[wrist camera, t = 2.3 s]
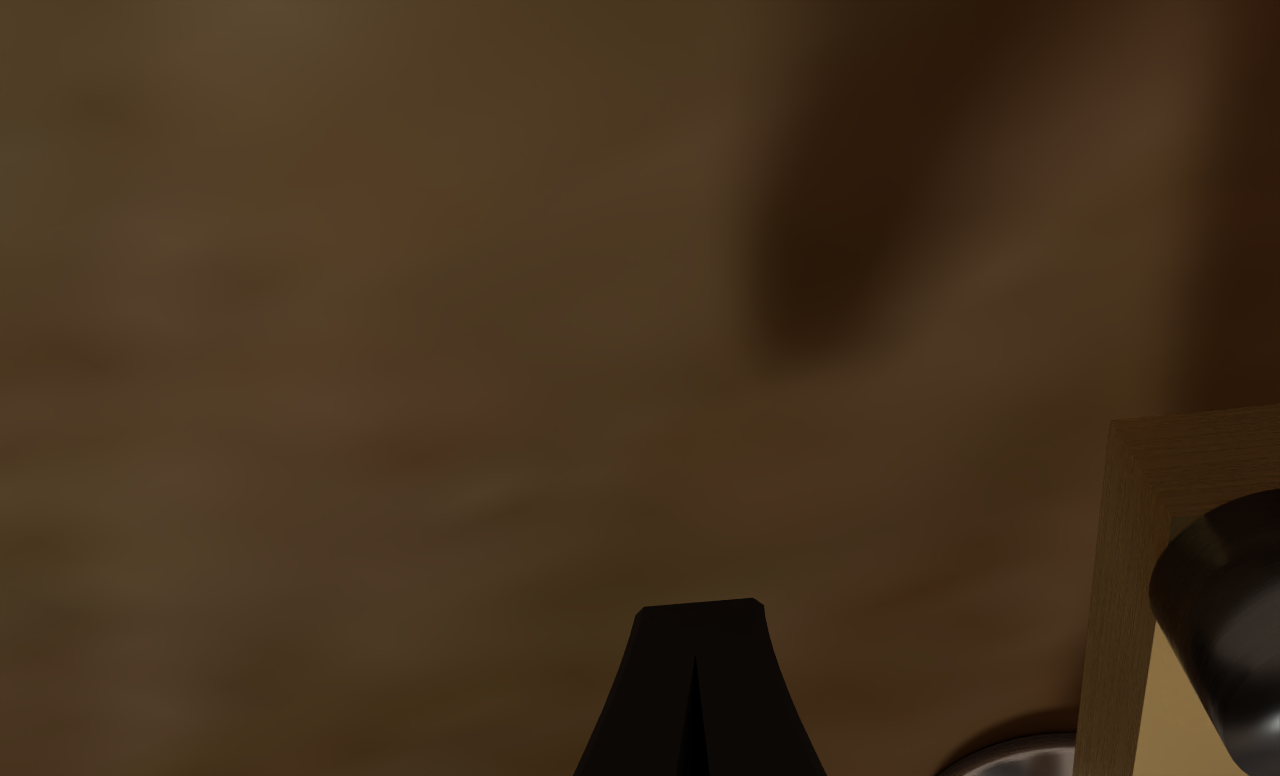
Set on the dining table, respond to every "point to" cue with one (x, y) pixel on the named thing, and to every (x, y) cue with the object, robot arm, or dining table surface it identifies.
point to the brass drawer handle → (1185, 600)
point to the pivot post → (1021, 758)
